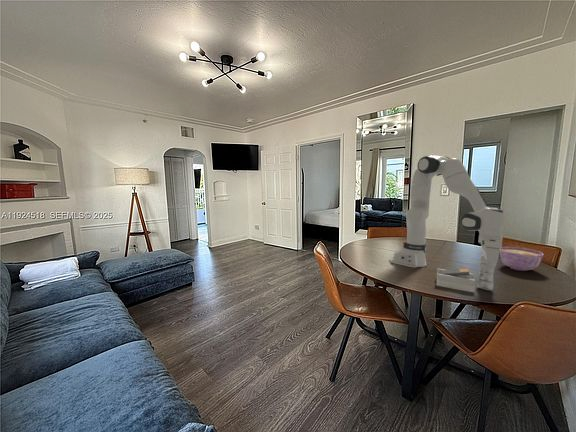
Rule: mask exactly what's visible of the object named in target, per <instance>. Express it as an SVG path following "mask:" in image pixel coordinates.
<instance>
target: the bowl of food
mask: <svg viewBox="0 0 576 432" xmlns="http://www.w3.org/2000/svg"><path fill="white" fill-rule="evenodd" d="M499 256H500V260H501V262H502V263H503V264H504V265H505V266H506V267H510V268H509V269H511V270H514V271H520V272H526V271H531V270H535V269H536V268H538V266H539V265H540V263H541V262H542V259H543V257H544V253H543V252H542V251H539V250H535V249H530V248H527V247H526V248H525V247H517V246H502V248H500V252H499Z"/></svg>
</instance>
